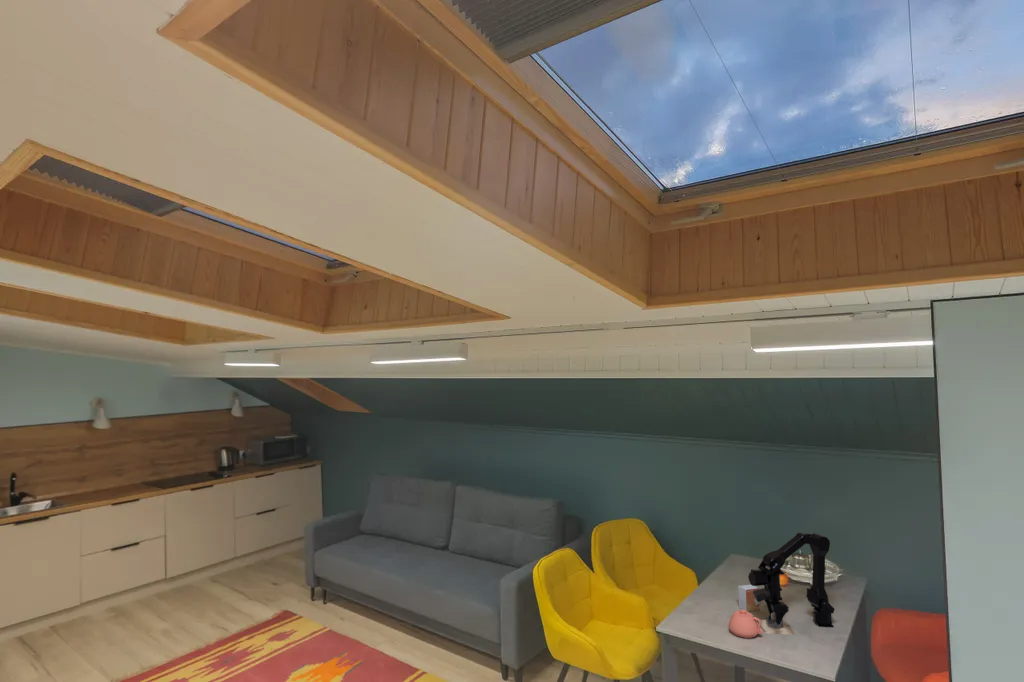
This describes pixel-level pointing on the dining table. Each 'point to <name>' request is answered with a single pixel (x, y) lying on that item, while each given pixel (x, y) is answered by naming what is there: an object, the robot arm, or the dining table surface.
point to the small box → (748, 598)
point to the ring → (773, 623)
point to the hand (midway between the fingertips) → (774, 619)
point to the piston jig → (769, 630)
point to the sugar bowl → (744, 624)
